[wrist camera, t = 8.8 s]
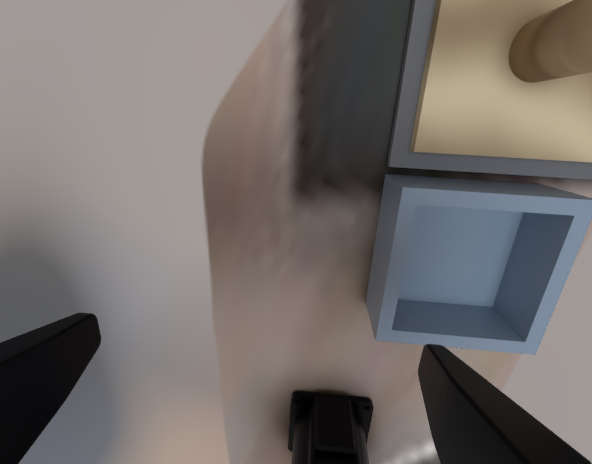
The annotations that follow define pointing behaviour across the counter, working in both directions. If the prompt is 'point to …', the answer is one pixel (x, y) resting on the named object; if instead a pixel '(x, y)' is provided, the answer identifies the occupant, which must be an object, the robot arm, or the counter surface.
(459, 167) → the mat
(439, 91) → the lid
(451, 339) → the dish
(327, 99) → the counter surface
